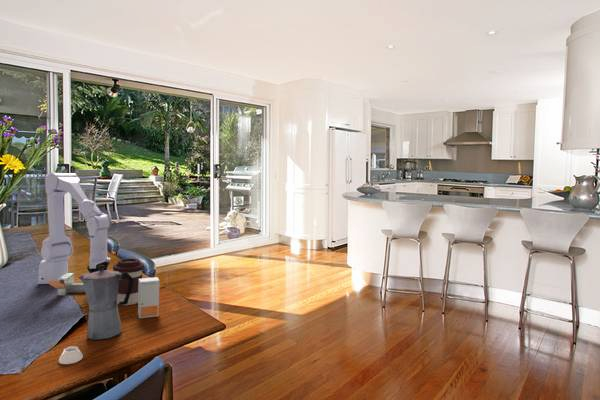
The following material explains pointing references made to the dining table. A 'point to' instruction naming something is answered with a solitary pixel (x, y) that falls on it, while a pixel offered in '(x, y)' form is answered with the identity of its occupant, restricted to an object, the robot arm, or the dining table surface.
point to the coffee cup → (135, 272)
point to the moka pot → (104, 302)
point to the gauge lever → (57, 284)
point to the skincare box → (148, 297)
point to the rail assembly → (70, 284)
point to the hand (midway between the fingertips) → (98, 282)
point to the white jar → (70, 355)
